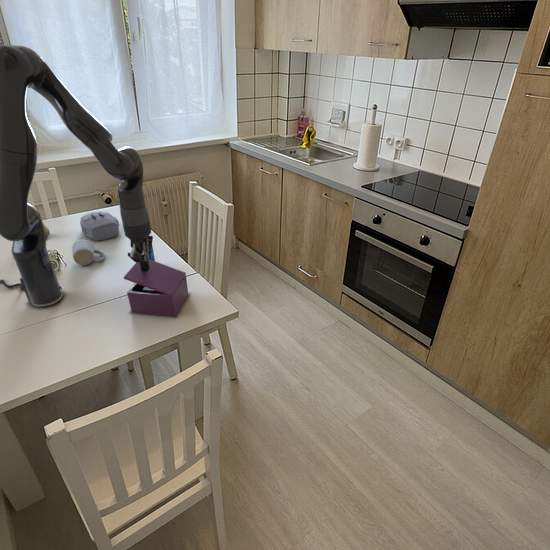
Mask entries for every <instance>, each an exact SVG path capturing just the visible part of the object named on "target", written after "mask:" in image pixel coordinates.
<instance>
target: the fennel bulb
mask: <svg viewBox="0 0 550 550" xmlns="http://www.w3.org/2000/svg"><path fill="white" fill-rule="evenodd" d="M35 210H36V211H37V213H38V214H39V217H40V219H41V222H42V226H43V229H44V233H45V236H46V238H47V237H49V235H50V229H49V228H48V227H47V225H45V223H44V222H43V219H42V217H41V213H40V211H38V210H37V209H35Z"/></svg>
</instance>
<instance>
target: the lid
mask: <svg viewBox="0 0 550 550" xmlns="http://www.w3.org/2000/svg"><path fill="white" fill-rule="evenodd" d="M148 261H149V267H150V269H149V270H148V271H147V272H146V271H142V270H141V266H140V262H134V264H133V265H132V267H131V268H130V269H129V270H128V271H127V273H126V274H124V276H123V280H125V281H129V282H131V283H133V284H134V283H137V284H139V285H142V286H145V287H147V288H150V289H153V290H155V291H158V292H161V293H164V294H166V295H169V296H172V295H173V294H174V292H175V290H176V289H177V287H178V286H179V284H180V283H181V281H182V279H183V278H184V276H185V275H186V276H187V274H186V273H187V272H184V271H182V270H179V269H176V268H174V267H172V266H168V265H166V264H163V263H161V262H158V261H156V260H155V261H153V260H150V259H148Z"/></svg>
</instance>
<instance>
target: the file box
mask: <svg viewBox="0 0 550 550" xmlns="http://www.w3.org/2000/svg"><path fill="white" fill-rule="evenodd" d="M143 288H144V286H142V285H139V284H137V283H134V282H133V284H132V286H130V288H129V289H128V290H127V292H126V295H127V299H128V303H129V307H130V311H131V313H133V314H134V313H136V314H144V315H155V316H164V317H173V318H174V317H175V318H176V316H177V315H178V313H179V311H180V310H181V308H182V306H183V304H184V303H185V301H186V299H187V297H188V296H189V287H188V281H187V274H186V275H185V276H184V278H183V279H182V281H181V283H180V284H179V286H178V287H177V289H176V290H175V292H174V294H173V295H172V296H169V295H166V294H164V293H162V294H153V293H143V292H142V289H143Z"/></svg>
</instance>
